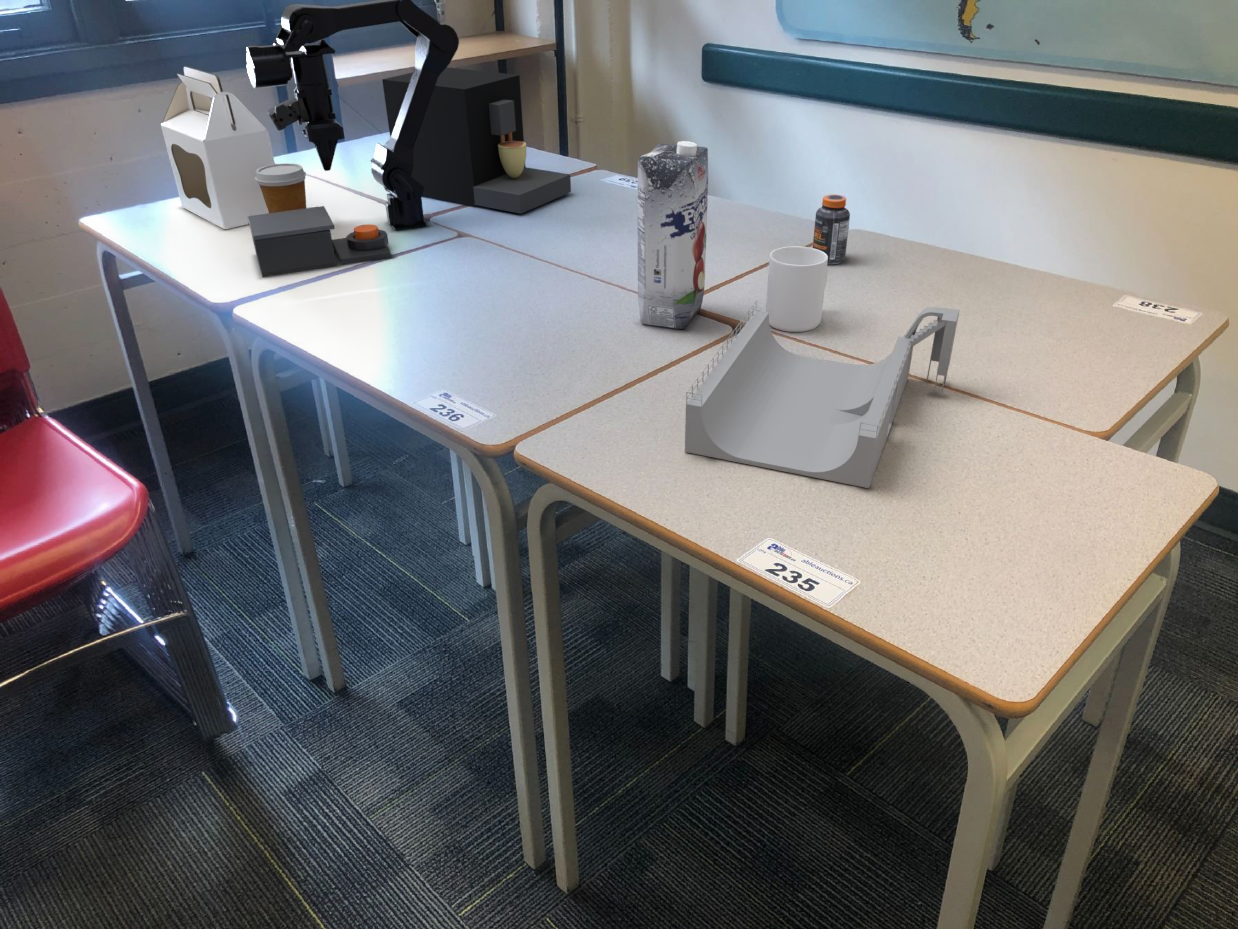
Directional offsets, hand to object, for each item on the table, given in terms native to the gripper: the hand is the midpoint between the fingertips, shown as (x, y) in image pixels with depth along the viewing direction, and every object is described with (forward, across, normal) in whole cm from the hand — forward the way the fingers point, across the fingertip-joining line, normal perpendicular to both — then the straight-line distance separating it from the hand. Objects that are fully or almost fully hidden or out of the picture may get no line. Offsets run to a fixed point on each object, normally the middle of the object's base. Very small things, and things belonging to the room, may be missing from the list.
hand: (327, 170), depth 179 cm
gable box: (+13, -27, -18) cm, 35 cm away
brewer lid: (+6, +10, -9) cm, 15 cm away
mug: (+13, +72, +60) cm, 95 cm away
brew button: (+10, +11, +4) cm, 15 cm away
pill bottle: (+13, +51, +79) cm, 95 cm away
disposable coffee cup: (+13, -9, -8) cm, 18 cm away
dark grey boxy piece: (+13, +10, -9) cm, 19 cm away
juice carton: (+13, +63, +42) cm, 77 cm away
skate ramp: (+13, +100, +46) cm, 111 cm away
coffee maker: (+13, -17, +34) cm, 40 cm away
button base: (+13, +10, +2) cm, 17 cm away
